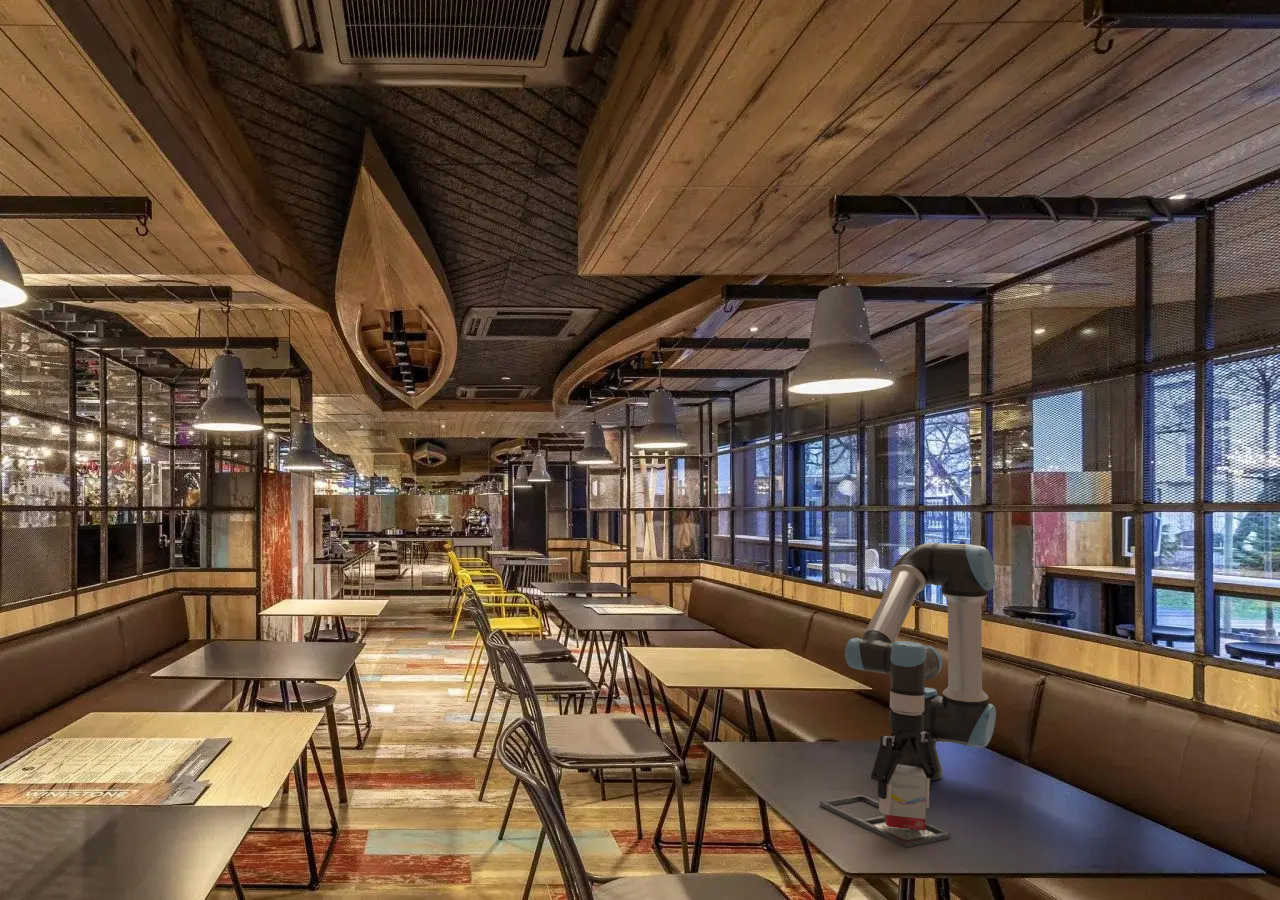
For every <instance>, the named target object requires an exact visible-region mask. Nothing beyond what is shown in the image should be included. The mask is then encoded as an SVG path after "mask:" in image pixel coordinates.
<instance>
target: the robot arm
mask: <svg viewBox="0 0 1280 900" xmlns="http://www.w3.org/2000/svg"><path fill="white" fill-rule="evenodd" d="M995 572H996V571H995V565H994V562H993V557H992V555H991V552H990V551H989V550H988V548H986V547H984V546H981V545H975V544H970V543H968V544H966V543H963V544H961V543H943V542H942V543H939V542H926V543H921V544H919V545H916V546H915V547H913V548H911V549H909V550H908V551H906V552H904V553H903V555H901V556H900V557H899V558H898V560H897V561H896V562H895V564H894V565H893V567H892V569H891V571H890V573H889V574H890V576H889V578H890V582H889V583H888V586H887V587H886V590H885V591H884V593H883V596H882V598H881V600H880V601H879V603H878V605H877V608H875V612H874V614H873V616H872V617H871V619H870V622H869V623H868V626H867V628H866V629H865V632H863V635H862V636H861V638H860V637H853V638H852V637H851V638H850V639H849V640H848V641H847V644H846V646H845V652H844V658H845V661H846V664H847V666H849V667H850V668H852V669H855V670H860V671H863V672H872V673H877V674H879V673H880V674H886V675H889V676H890V677H889V679H890V682H889V684H890V685H889V690H890V691H889V694H890V695H889V708H890V711H889V715H888V720H889V721H888V722H889V723H888V725H889V727H890V729H891V733H890V735H889V736H887V735H884V734H883V735H880V738H879V739H880V742H879V748H878V752H877V755H876V758H875V762H874V765H873V769H872V773H871V776H870V778H871V780H873V781H875V782H877V785H878V786H877V796H878V798H879V799H878V802H879V808H878V812H880V813H881V814H883V813H884V814H886V815H891V784H888V783H889V781H890V779H891V777H892V775H893V773H894V770H895V768H896V766H897V764H900V765H906V766H913V767H920V768H923V771H924V773H925V775H926V777H927V782H926V809H929V808H930V792H931V784H932V783H931V781H932V782H933V781H938V780H940V779H942V777H943V766H942V765H941V761H940V759H939V754H938V751H937V740H939V741H943V742H949V743H954V744H959V745H963V746H967V747H974V748H981V749H982V748H985V747H987V745H989V743H990V742H991V740H992V737H993V733H994V730H995V725H996V718H997V710H996V707H995V705H994V704H992V703H989V695H988V694H987V693H986V692H985V691H984V690H983V673H982V672H983V654H982V653H983V651H982V650H983V648H982V647H983V646H982V645H983V642H982V639H983V637H982V633H983V632H982V628H983V626H982V619H983V618H982V617H983V615H982V602H983V601H984V600H985V599H986V598H987V597H988V592H989V591H992V590H993V588H994V586H995V578H996V573H995ZM929 585H934V586H941V594H942V595H943V597H945V599H946V600H947V666H948V667H947V669H948V670H947V672H948V673H947V674H948V675H947V677H948V678H947V680H948V681H947V687H946V688H945V689H944V690H943V691H942V695H938V691H937V689H936V688H932V687H925V685H926V684H925V683H926V680H930V679H932V678H935V677H936V676H937V675H938V674H939V673H940V672H941V671H942V669H943V664H944V662H943V661H944V660H943V658H942V655H941V653H940V652H939V651H938V650H937V649H936V648H935V647H933V646H930V645H924V644H922V643H919V642H915V641H907V640H905V641H903V640H901V641H896V640H897V637H898V635H899V633H900V631H901V628H902V627H903V624H904V622H905V621H906V618H907V616H908V614H909V612H910V611H911V608H912V606H913V603H914V602H915V600H916V596H917V595H918V594H919V593H921V592H922V591H923V590H924V588H925V587H926V586H929Z"/></svg>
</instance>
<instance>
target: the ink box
mask: <svg viewBox="0 0 1280 900" xmlns="http://www.w3.org/2000/svg"><path fill="white" fill-rule="evenodd" d="M926 782H927V777H926V775H925V773H924V771H923V768H920V767H913V766H906V765H900V764H897V766H896V768H895V770H894V773H893V775H892V777H891V779H890V781H889V783H888V784H891V815H886V814H884V813H882V816H884V818H885V822H886V825H887V826H889V827H896V828H904V829H913V830H922V831H925V822H926V820H927V819H926V816H927V815H926V811H927V810H926V809H927V808H926ZM926 823H927V822H926Z"/></svg>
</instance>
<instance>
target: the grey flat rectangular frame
mask: <svg viewBox="0 0 1280 900" xmlns="http://www.w3.org/2000/svg"><path fill="white" fill-rule="evenodd" d="M860 801H863V802H865V803H867V804H869V805H872V806H874V807H876V808H878V809H879V800H876V799H874V798H871V797H870V796H866V795H865V794H858V795H857V794H856V795H851V796H845V797H840V798H839V797H837V798H834V799H827V800H821V801H819V807H821V808H823V809H826V810H828V811H829V812H831V813H833V814H836V815H837V816H840V817H842V818H844V819H846V820H848V821H850V822H853V823H854V824H856V825H858V826H860V827H863V829H866V830H868V831H871V832H872V833H874V834H877V835H879V836H880V837H883V838H884V839H887V840H889V841H891V842H894V843H895V844H898V845H899V846H901V847H903V848H906V849H907V848H911V847H915V846H921V845H925V844H930V843H935V842H937V841H938V842H939V841H943V840H947V839H951V833H950V832H948V831H946V830H944V829H941V828H939V827H937V826H935V825H932V824H930V823H927V822H925V831H922V830H913V829H904V828H896V827H889V826H887V825H886V822H885V818H884V815H880V816H874V817H869V818H863V819H862V818H859V817H857V816H855V815H853V814H851V813H849V812H847V811H845V810H842V809H840V808H839V807H837V806H838V805H843V804H850V803H854V802H855V803H856V802H860Z"/></svg>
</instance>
